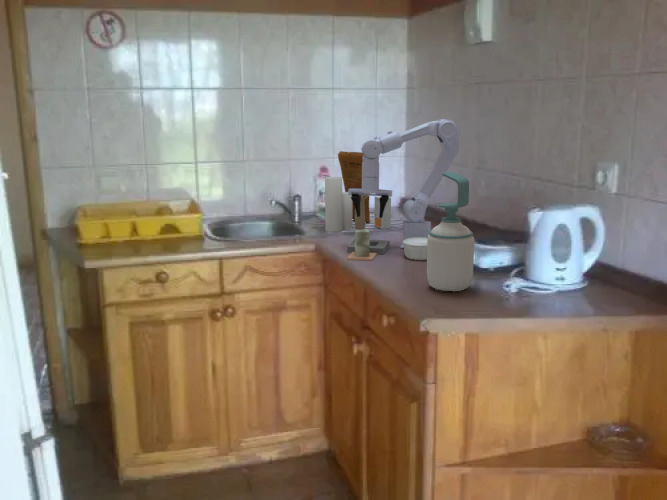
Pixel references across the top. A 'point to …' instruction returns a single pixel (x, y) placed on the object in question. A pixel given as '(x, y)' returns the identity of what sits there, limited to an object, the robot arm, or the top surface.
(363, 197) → the handle
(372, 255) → the coaster
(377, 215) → the skincare box
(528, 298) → the top surface
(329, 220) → the pair of white cylinders
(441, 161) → the robot arm
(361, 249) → the sage block
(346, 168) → the pancake mix bag
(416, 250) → the ramekin
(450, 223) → the soap bottle
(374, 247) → the pocket board
